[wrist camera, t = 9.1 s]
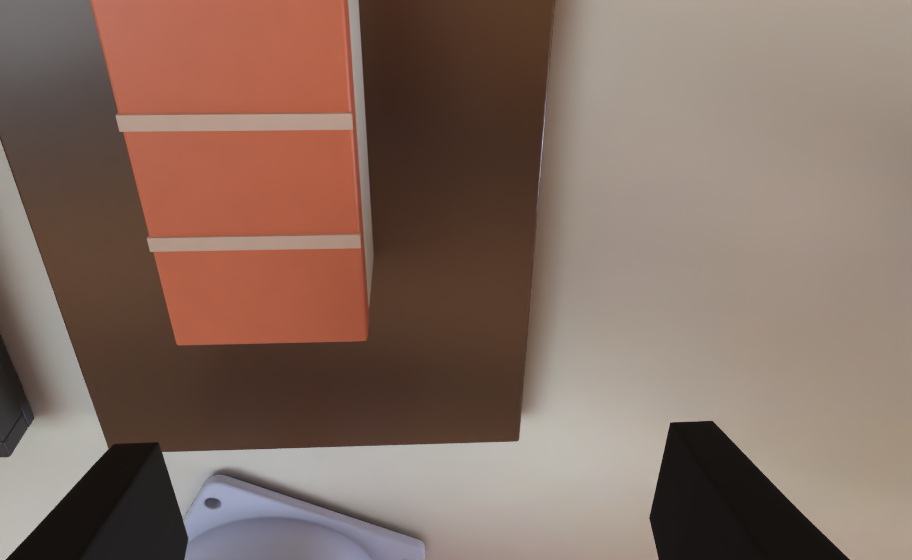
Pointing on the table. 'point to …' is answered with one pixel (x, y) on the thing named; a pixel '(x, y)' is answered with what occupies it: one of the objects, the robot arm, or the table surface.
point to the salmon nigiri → (248, 162)
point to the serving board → (393, 229)
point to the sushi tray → (11, 406)
